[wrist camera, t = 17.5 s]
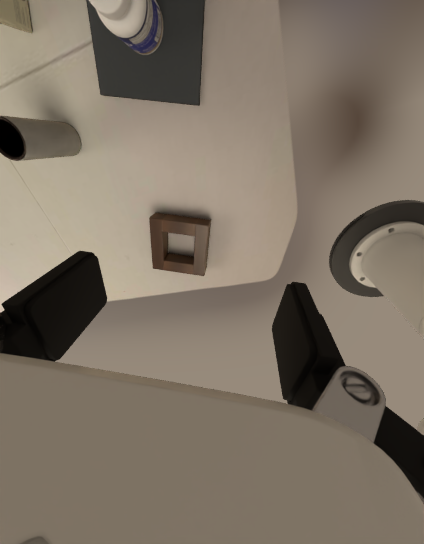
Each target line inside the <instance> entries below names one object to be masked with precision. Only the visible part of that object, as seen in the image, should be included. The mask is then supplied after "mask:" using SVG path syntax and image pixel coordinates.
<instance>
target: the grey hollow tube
mask: <svg viewBox="0 0 424 544" xmlns="http://www.w3.org/2000/svg"><path fill="white" fill-rule="evenodd" d="M80 149H81V141H80V137H79V135H78V133H77V132H76V130H75V129H74V128H73V127H72V126H70V125H69V124H67V123H64V122H57V121H47V120H38V119H28V118H18V117H9V116H0V153H1V154H3V155H4V156H5V157H7V158H9V159H11V160H15V161H21V160H32V159H43V158H54V157H65V156H74V155H77V154H78V153H79V151H80Z"/></svg>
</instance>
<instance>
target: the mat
mask: <svg viewBox="0 0 424 544" xmlns="http://www.w3.org/2000/svg"><path fill="white" fill-rule="evenodd" d="M86 1H87V8H88V14H89V21H90V28H91V34H92V41H93V48H94V54H95V61H96V68H97V74H98V81H99V88H100V94H101V95H104V96H113V97H123V98H132V99H142V100H151V101H161V102H170V103H179V104H189V105H198V106H199V105H200V85H201V65H202V44H203V24H204V3H205V0H156V2H157V4H158V6H159V8H160V11H161V14H162V18H163V36H162V40H161V43H160V45H159V47H158V48H157V49H156V50H155V51H154V52H153V53H151V54H148V55H142V54H139V53H137V52H135V51H134V50H133V49H132V48H130V47H129V46H128V45H127V44H125V43H124V42H123V41H122V40H120V39H119V38H118V37H117V36H116V35H114V34H113V33H112V32H111V31H110V30H109V29H108V28H107V27H106V26H105V25H104V24H103V22H102V21H101V19H100V17H99V15H98V13H97V11H96V8H95V7H94V6H93V5H92V4H91V3H90V1H89V0H86Z"/></svg>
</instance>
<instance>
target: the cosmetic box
mask: <svg viewBox="0 0 424 544" xmlns="http://www.w3.org/2000/svg"><path fill="white" fill-rule="evenodd" d="M0 23H2V24H4V25H7V26H10V27H13V28H16V29H19V30H23V31H26V32H29V33H32V28H31V21H30V15H29V8H28V1H27V0H0Z"/></svg>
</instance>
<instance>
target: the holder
mask: <svg viewBox="0 0 424 544" xmlns="http://www.w3.org/2000/svg"><path fill="white" fill-rule="evenodd" d="M149 219H150V233H151V248H152V262H153V269H160V270H166V271H173V272H180V273H187V274H194V275H200V276H204V275H205V271H206V267H207V257H208V246H209V236H210V225H211V220H209V219H201V218H194V217H186V216H179V215H171V214H164V213H155V214H153V215H152V216H151V217H150V218H149ZM168 232H169V233H176V234H184V235H191V236H195V247H194V257H193V256H186V255H179V254H172V253H168Z"/></svg>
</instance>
